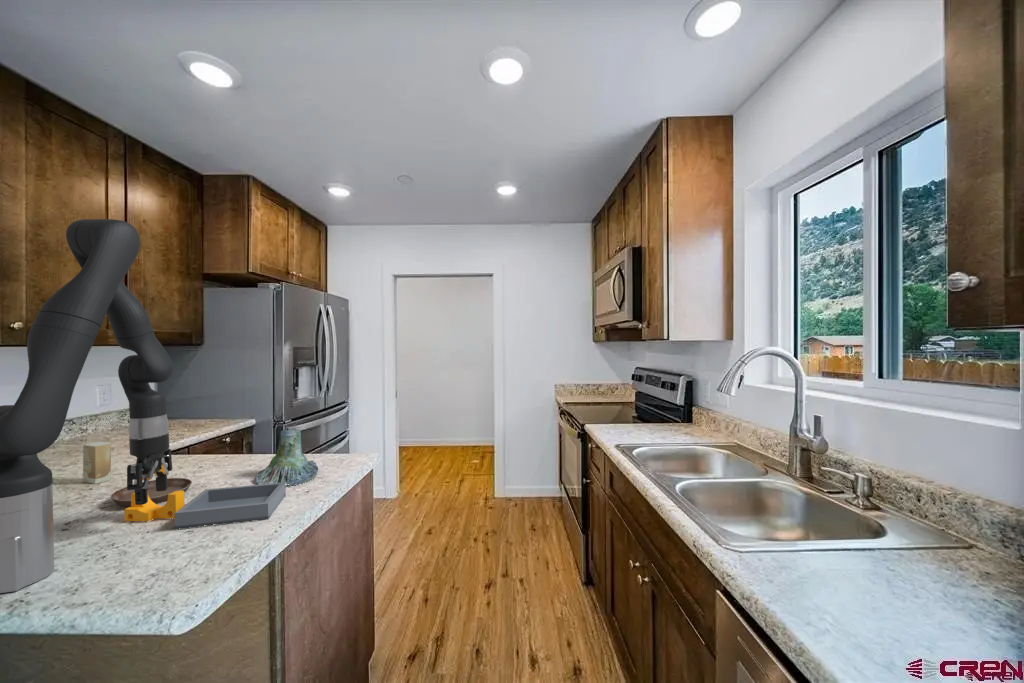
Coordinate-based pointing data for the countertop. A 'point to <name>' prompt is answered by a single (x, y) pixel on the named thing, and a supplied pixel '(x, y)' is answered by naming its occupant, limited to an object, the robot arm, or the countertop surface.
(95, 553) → the countertop surface
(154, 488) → the plant saucer
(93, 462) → the skincare box
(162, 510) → the pipe clamp
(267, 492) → the tray
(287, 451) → the tree stump
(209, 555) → the countertop surface
